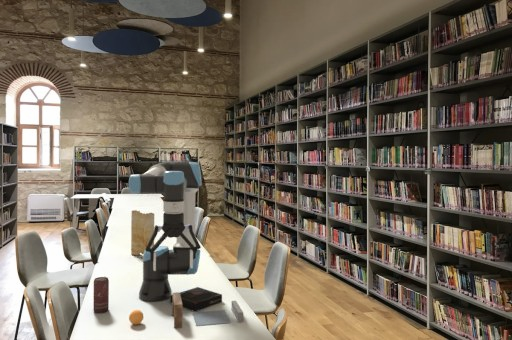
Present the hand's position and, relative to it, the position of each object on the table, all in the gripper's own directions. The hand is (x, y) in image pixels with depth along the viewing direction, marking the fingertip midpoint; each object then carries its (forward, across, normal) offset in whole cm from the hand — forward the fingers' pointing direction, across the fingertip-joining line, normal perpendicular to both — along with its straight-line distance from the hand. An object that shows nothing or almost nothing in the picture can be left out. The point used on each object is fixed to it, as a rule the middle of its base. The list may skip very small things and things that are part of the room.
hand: (173, 268), depth 156 cm
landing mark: (+25, +17, +12) cm, 32 cm away
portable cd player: (+26, +14, +32) cm, 43 cm away
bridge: (+25, +3, +12) cm, 28 cm away
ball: (+22, -13, +13) cm, 29 cm away
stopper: (+25, +28, +11) cm, 39 cm away
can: (+25, -27, +31) cm, 49 cm away
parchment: (+26, -8, +125) cm, 128 cm away
